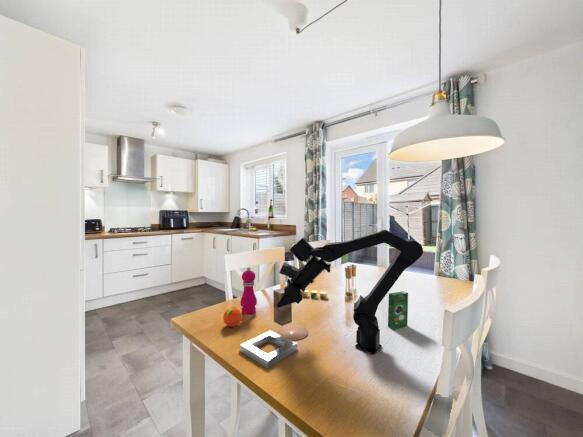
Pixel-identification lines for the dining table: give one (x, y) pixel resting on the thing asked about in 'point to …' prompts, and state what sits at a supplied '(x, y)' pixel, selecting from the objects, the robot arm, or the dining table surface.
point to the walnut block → (281, 309)
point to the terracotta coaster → (293, 332)
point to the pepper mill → (248, 293)
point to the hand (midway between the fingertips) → (278, 303)
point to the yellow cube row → (315, 294)
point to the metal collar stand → (273, 357)
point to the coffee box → (398, 310)
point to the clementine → (232, 316)
